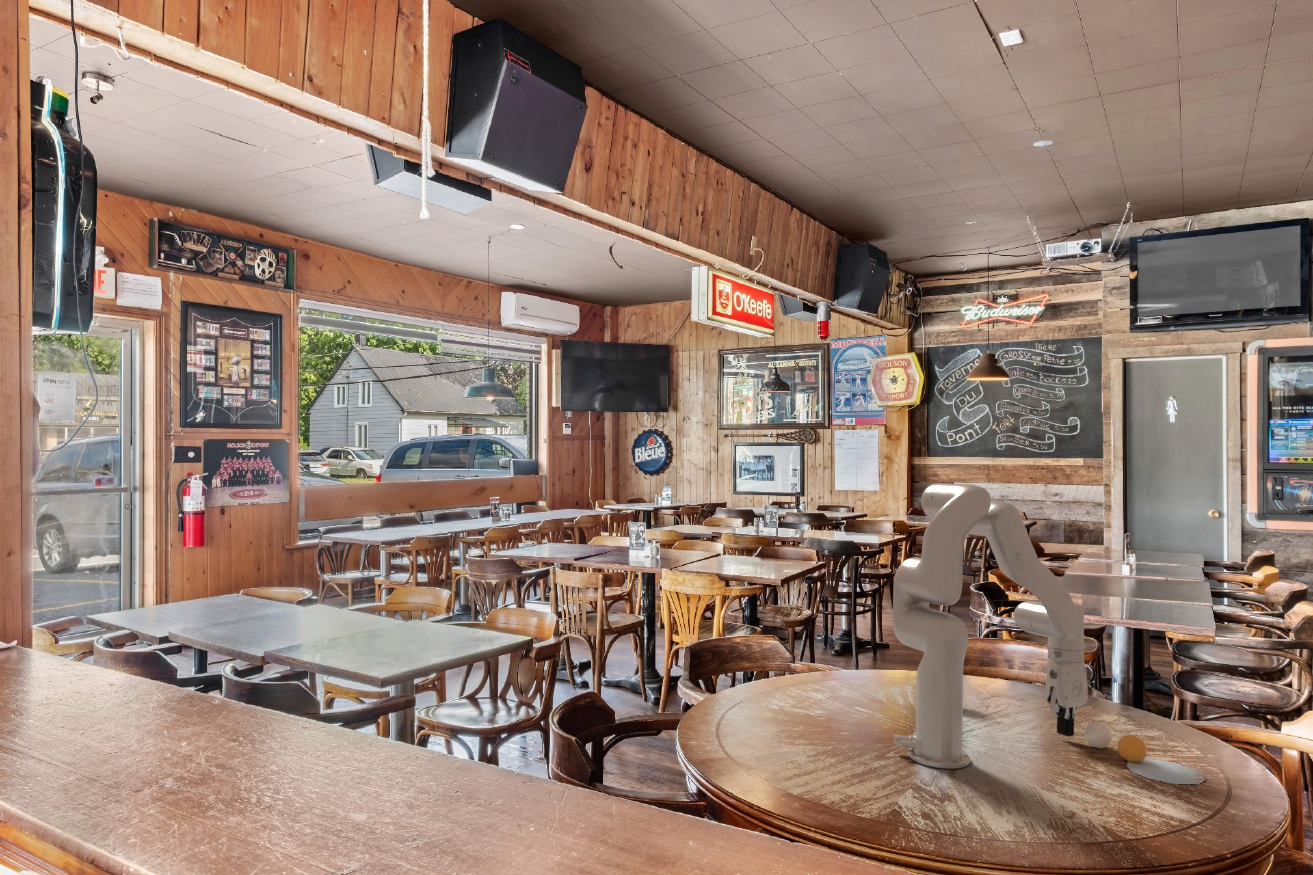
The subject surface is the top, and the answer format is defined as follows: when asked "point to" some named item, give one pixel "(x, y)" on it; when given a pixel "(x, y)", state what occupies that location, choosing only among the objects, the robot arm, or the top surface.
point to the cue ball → (1098, 735)
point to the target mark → (1165, 771)
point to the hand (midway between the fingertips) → (1065, 734)
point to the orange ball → (1132, 748)
